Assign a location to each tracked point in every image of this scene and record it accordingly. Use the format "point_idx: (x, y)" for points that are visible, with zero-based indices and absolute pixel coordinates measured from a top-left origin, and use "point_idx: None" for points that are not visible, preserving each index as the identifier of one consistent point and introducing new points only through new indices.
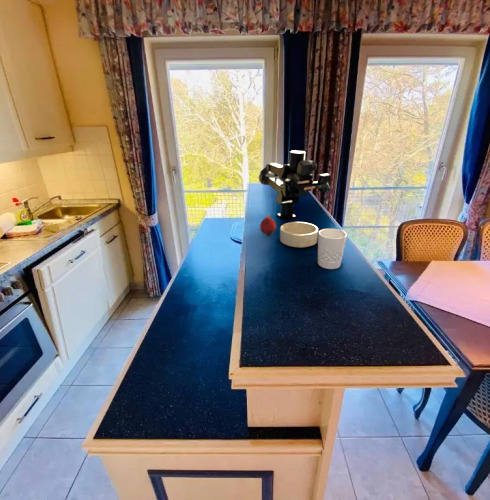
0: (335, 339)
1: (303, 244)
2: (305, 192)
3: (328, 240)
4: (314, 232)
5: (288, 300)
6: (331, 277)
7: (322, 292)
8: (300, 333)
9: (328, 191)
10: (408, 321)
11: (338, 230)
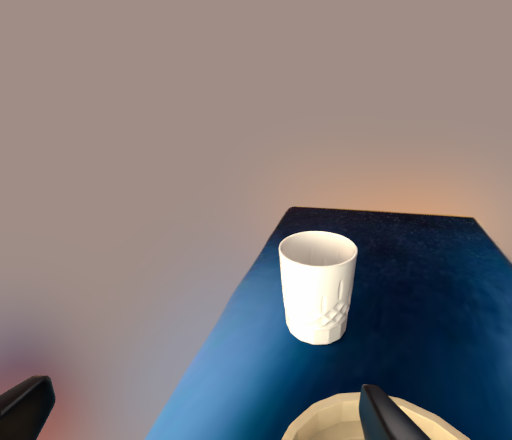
0: (372, 222)
1: None
2: (381, 389)
3: (339, 240)
4: (317, 407)
5: (428, 260)
6: None
7: (366, 263)
8: (410, 229)
9: (47, 416)
10: (284, 225)
11: (287, 258)
